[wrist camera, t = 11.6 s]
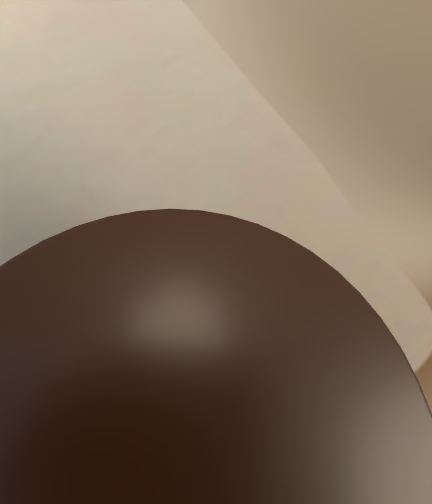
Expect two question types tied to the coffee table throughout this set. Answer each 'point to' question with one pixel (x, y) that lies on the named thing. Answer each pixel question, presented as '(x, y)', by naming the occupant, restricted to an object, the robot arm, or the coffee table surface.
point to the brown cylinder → (200, 372)
